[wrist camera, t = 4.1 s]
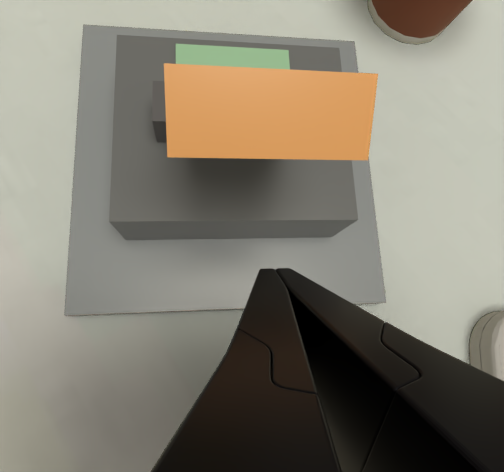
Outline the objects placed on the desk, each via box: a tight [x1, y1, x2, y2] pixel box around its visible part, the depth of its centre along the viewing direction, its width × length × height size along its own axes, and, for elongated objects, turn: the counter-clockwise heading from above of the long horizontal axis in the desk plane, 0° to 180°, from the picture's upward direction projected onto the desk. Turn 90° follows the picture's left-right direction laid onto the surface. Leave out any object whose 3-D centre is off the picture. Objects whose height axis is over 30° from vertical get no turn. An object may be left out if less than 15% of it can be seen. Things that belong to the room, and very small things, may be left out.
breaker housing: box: [64, 25, 386, 316], centre depth 21 cm, size 18×18×7 cm
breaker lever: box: [164, 63, 378, 160], centre depth 14 cm, size 2×5×9 cm, turn 92°
